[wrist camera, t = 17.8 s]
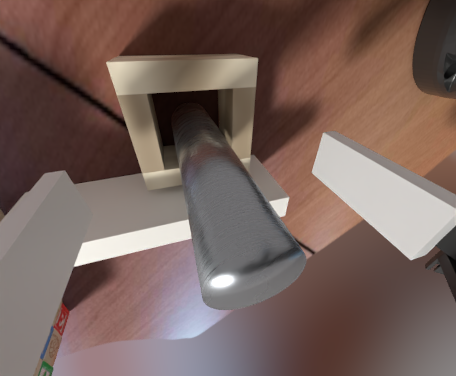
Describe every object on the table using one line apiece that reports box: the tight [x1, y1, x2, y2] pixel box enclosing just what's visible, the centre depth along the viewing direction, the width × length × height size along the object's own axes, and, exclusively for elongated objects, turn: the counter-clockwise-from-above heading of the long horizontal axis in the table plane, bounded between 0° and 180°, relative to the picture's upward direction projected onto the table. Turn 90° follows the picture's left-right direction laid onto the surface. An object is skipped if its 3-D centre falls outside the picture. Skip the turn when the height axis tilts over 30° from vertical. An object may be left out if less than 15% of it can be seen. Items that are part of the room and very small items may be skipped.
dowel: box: [171, 102, 306, 310], centre depth 11 cm, size 3×3×14 cm
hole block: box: [106, 54, 258, 190], centre depth 14 cm, size 8×8×4 cm
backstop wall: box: [0, 155, 289, 267], centre depth 16 cm, size 20×2×7 cm, turn 91°
